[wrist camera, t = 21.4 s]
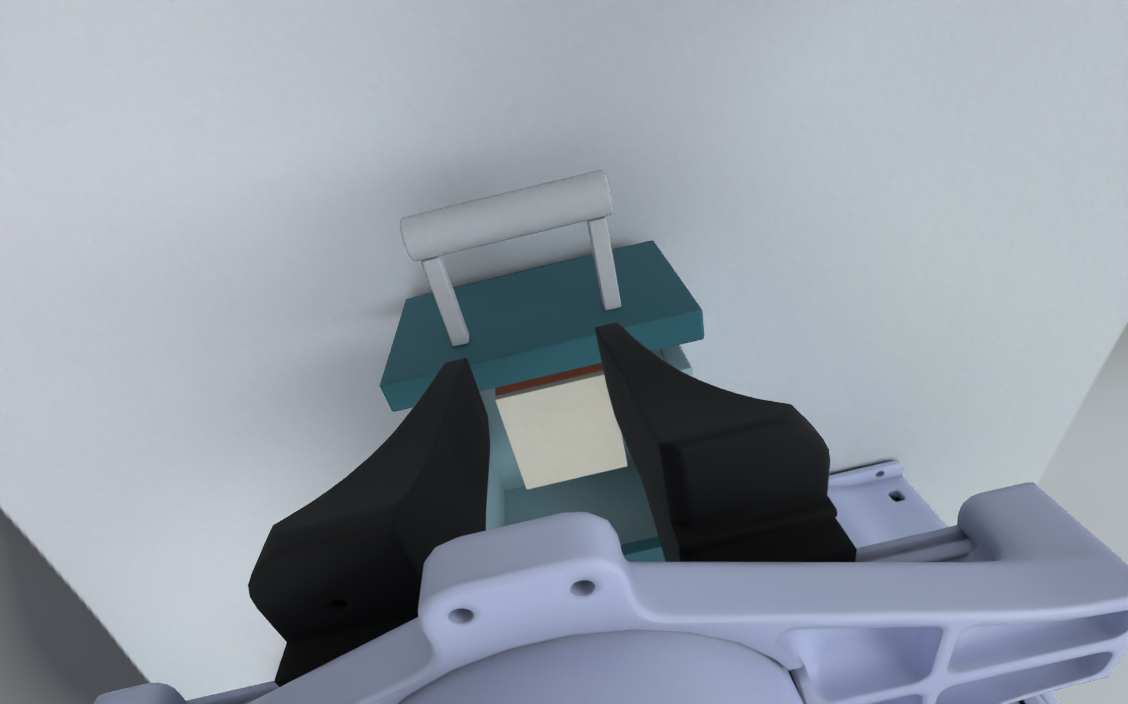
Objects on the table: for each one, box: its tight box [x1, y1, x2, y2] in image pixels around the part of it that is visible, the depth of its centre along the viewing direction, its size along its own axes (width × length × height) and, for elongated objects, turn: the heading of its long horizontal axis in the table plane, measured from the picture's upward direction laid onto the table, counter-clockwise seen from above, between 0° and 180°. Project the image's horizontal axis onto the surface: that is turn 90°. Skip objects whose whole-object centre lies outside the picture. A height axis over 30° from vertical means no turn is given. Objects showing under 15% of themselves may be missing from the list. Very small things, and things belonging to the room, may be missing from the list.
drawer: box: [380, 170, 704, 545], centre depth 23 cm, size 17×11×7 cm, turn 12°
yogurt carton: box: [495, 363, 628, 489], centre depth 24 cm, size 5×4×4 cm
